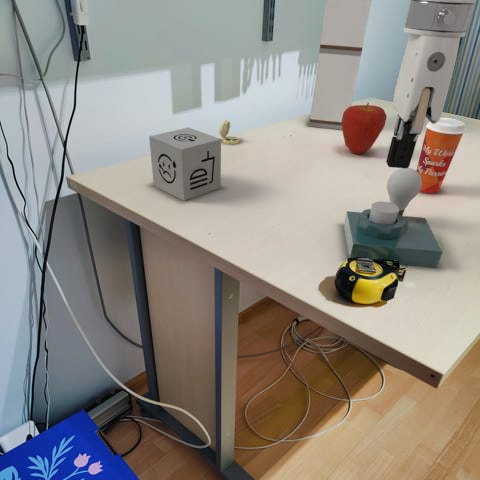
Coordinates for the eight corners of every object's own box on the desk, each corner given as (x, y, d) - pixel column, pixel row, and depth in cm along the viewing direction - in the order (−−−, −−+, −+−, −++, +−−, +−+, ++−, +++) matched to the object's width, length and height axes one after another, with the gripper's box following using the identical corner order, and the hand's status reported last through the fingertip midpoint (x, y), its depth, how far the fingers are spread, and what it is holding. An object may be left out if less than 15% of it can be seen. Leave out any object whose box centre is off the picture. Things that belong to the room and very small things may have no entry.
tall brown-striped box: (347, 121, 135) (374, -19, 113) (346, 130, 127) (375, -18, 105) (312, 117, 137) (331, -21, 115) (309, 126, 129) (329, -21, 107)
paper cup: (405, 190, 93) (425, 122, 84) (410, 179, 98) (430, 114, 89) (442, 198, 90) (467, 129, 81) (445, 186, 96) (469, 120, 87)
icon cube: (220, 188, 90) (221, 139, 83) (183, 200, 84) (181, 149, 78) (190, 174, 95) (188, 127, 89) (153, 185, 89) (149, 136, 83)
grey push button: (392, 215, 72) (396, 202, 71) (397, 227, 69) (401, 214, 67) (366, 213, 72) (370, 200, 71) (370, 225, 69) (373, 211, 68)
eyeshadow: (234, 145, 112) (234, 125, 109) (218, 141, 114) (218, 122, 111) (242, 141, 115) (243, 121, 112) (226, 137, 117) (226, 118, 114)
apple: (357, 143, 118) (367, 95, 110) (386, 155, 111) (399, 105, 103) (327, 149, 113) (335, 99, 105) (356, 161, 106) (367, 109, 98)
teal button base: (420, 232, 78) (428, 207, 74) (436, 267, 68) (447, 240, 65) (343, 226, 78) (349, 200, 75) (349, 259, 69) (355, 232, 66)
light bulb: (405, 230, 78) (422, 177, 72) (374, 222, 80) (388, 169, 74) (412, 218, 82) (429, 167, 76) (382, 210, 84) (396, 160, 78)
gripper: (488, 27, 47) (433, 186, 59) (451, 17, 59) (411, 152, 70) (419, 23, 48) (379, 182, 59) (396, 14, 59) (366, 148, 71)
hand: (397, 165), depth 65 cm, fingers closed
